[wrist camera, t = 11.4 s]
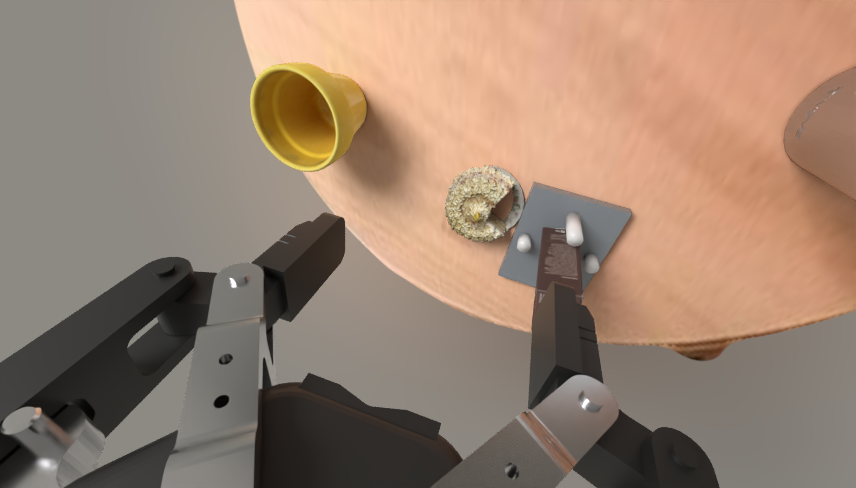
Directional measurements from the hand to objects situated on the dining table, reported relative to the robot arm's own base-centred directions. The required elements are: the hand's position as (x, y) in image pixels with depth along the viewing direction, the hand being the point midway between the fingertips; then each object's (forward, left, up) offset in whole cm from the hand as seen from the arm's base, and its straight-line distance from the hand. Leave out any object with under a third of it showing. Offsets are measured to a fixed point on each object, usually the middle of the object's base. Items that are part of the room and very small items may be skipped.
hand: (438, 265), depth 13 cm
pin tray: (-11, +15, -29) cm, 34 cm away
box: (-10, +15, -28) cm, 33 cm away
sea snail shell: (0, +12, -30) cm, 32 cm away
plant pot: (+20, +5, -29) cm, 36 cm away
